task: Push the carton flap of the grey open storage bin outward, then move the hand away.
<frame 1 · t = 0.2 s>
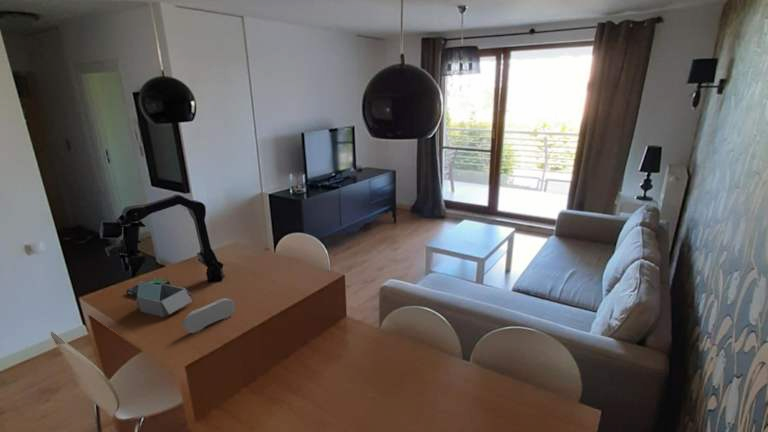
hand: (129, 274, 162), 15 cm above the table, tool pointing down, fingers open, 9 cm apart
carton flap: (148, 290, 157), point 10 cm above the table, hinge at 70.0°
disk drive: (149, 290, 182), on the table
grey open storage bin: (165, 307, 165), on the table
grey rounded flat bar: (211, 324, 151), on the table
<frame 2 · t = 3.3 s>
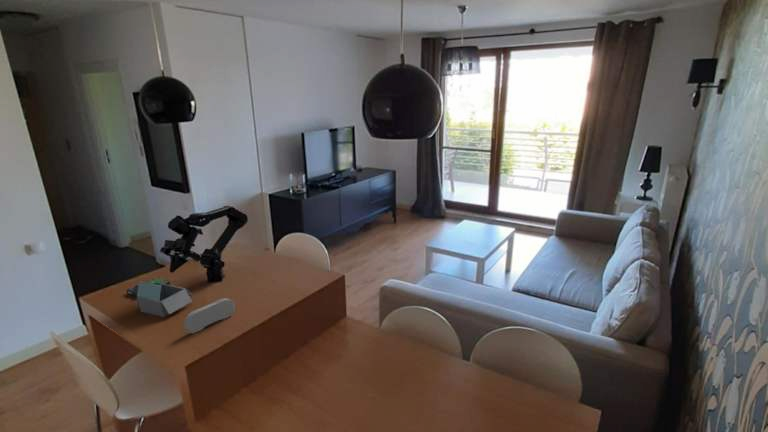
hand: (170, 272, 166), 14 cm above the table, tool tilted 45°, fingers closed
nothing on the table moved.
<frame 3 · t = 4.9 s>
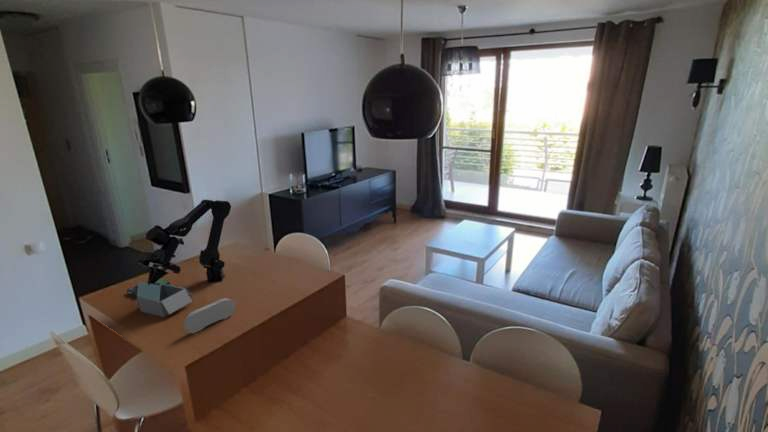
hand: (149, 285, 157), 12 cm above the table, tool tilted 45°, fingers closed, pressing on carton flap
carton flap: (148, 290, 157), point 10 cm above the table, hinge at 72.1°, touching gripper
everything else where it was.
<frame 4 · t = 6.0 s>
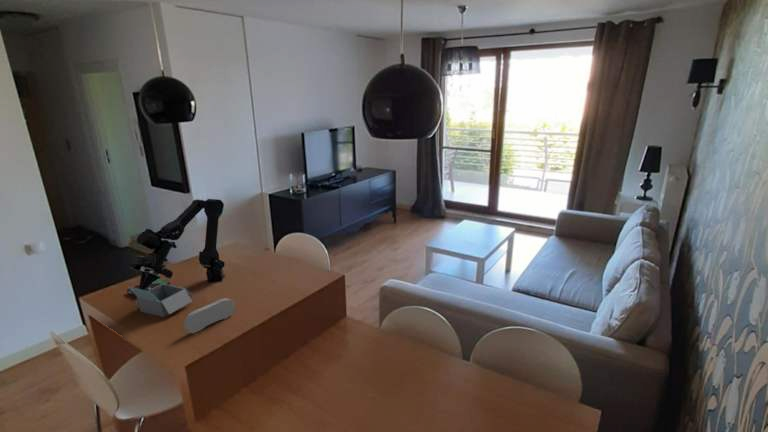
hand: (140, 290, 154), 12 cm above the table, tool tilted 45°, fingers closed, pressing on carton flap
carton flap: (143, 294, 156), point 10 cm above the table, hinge at 116.3°, touching gripper
everything else where it was.
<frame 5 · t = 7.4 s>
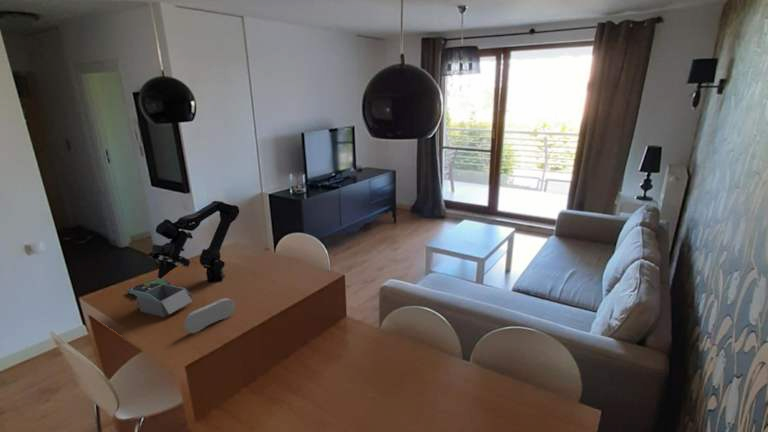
hand: (159, 278, 161), 13 cm above the table, tool tilted 45°, fingers closed
carton flap: (142, 295, 155), point 10 cm above the table, hinge at 124.5°
everything else where it was.
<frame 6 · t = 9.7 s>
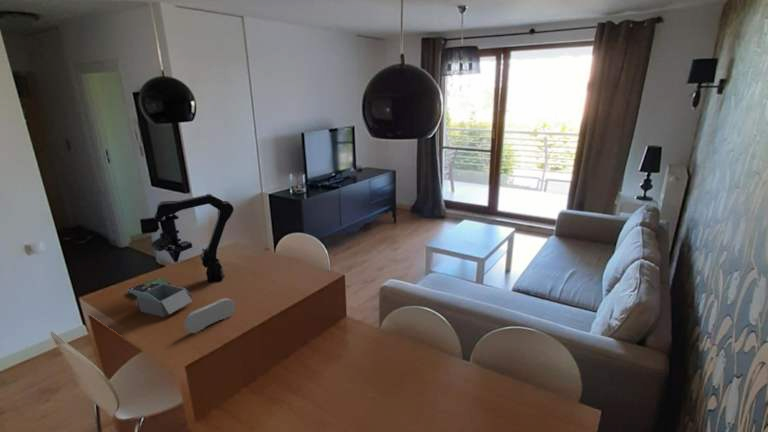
hand: (176, 261, 178), 13 cm above the table, tool pointing down, fingers closed
carton flap: (142, 295, 155), point 10 cm above the table, hinge at 125.1°
at the end: carton flap at +125° (first picture: +70°); disk drive moved 1.3 cm from its start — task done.
